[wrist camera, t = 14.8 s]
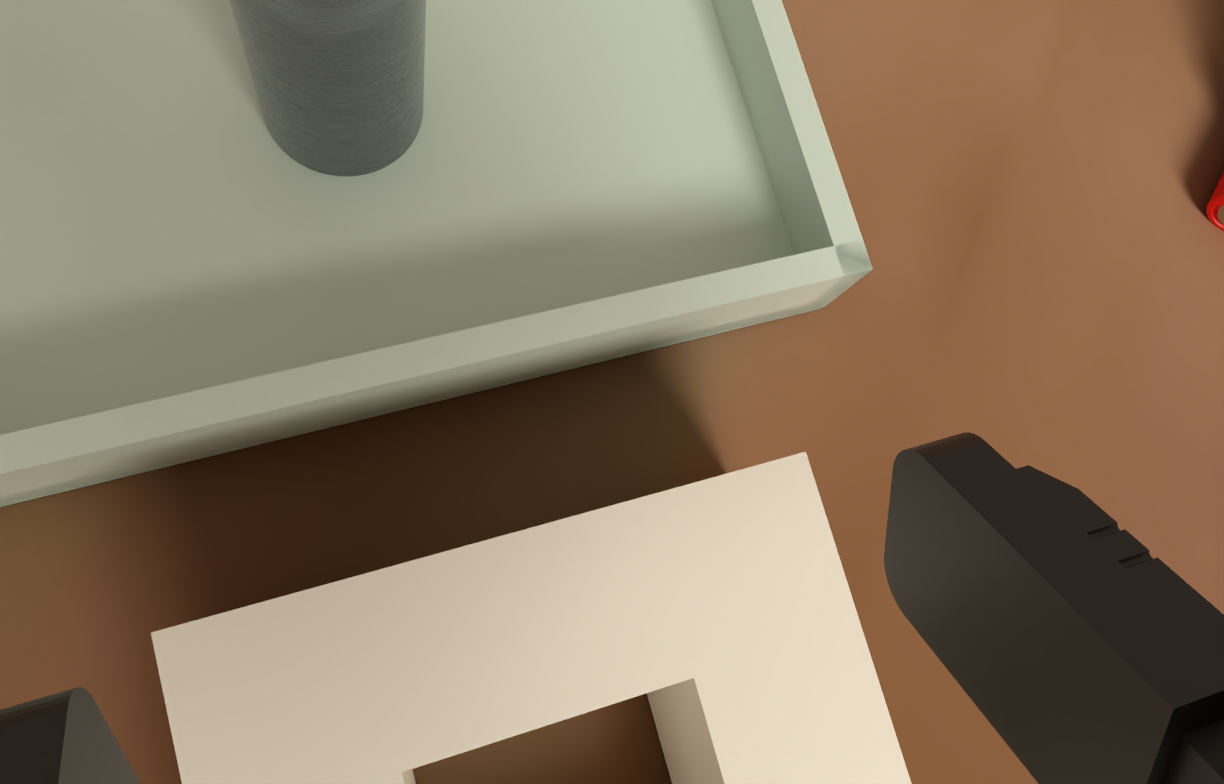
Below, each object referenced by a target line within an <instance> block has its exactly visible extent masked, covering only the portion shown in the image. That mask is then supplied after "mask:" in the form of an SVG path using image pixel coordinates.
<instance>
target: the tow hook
mask: <svg viewBox="0 0 1224 784" xmlns="http://www.w3.org/2000/svg"><path fill="white" fill-rule="evenodd" d="M1206 213H1207V217H1208V218H1209V220H1210V222H1212V223H1213V224H1214V225H1215V226H1216V227H1218V228H1219V229H1221V230H1223V231H1224V172H1223V174H1222V177H1221V179H1220V181H1219V183H1218V185H1217V187H1216V189H1215V191H1214V193H1213V195H1212V197H1211V199H1210V201H1209V203H1208V205H1207V209H1206Z"/></svg>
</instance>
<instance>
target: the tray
mask: <svg viewBox="0 0 1224 784" xmlns="http://www.w3.org/2000/svg"><path fill="white" fill-rule="evenodd" d="M871 270H873V268H872V265H871V262H870V259H869V256H868V253H867V250H866V247H865V244H864V242H863V239H862V236H861V233H860V230H859V227H858V224H857V221H856V218H855V215H854V212H853V209H852V206H851V203H850V200H849V197H848V194H847V191H846V189H845V186H844V183H843V180H842V177H841V174H840V171H839V168H838V165H837V162H836V159H835V156H834V153H833V150H832V147H831V144H830V141H829V138H828V136H827V133H826V130H825V127H824V124H823V121H822V118H821V115H820V112H819V109H818V106H817V103H816V100H815V97H814V94H813V91H812V88H811V85H810V83H809V80H808V77H807V74H806V71H805V68H804V65H803V62H802V59H801V56H800V53H799V50H798V47H797V44H796V41H795V38H794V35H793V32H792V30H791V27H790V24H789V21H788V18H787V15H786V12H785V9H784V6H783V3H782V0H426V20H425V61H424V102H423V118H422V122H421V126H420V129H419V132H418V134H417V136H416V138H415V140H414V141H413V143H412V145H411V146H410V147H409V148H408V150H407V151H406V152H405V153H404V154H403V155H402V156H401V157H400V158H399V159H397V160H396V161H394V162H393V163H392V164H390V165H388V166H386V167H385V168H383V169H380V170H378V171H375V172H373V173H369V174H365V175H359V176H333V175H327V174H323V173H319V172H317V171H314V170H311V169H309V168H307V167H305V166H303V165H301V164H299V163H298V162H296V161H295V160H293V159H292V158H290V157H289V156H288V155H287V154H286V153H285V152H284V151H283V150H282V149H281V148H280V147H279V146H278V145H277V144H276V142H275V141H274V139H273V138H272V136H271V134H270V132H269V130H268V128H267V126H266V123H265V120H264V117H263V114H262V110H261V107H260V103H259V100H258V97H257V93H256V90H255V86H254V83H253V80H252V76H251V73H250V69H249V66H248V62H247V59H246V56H245V52H244V49H243V45H242V42H241V39H240V35H239V32H238V28H237V25H236V22H235V18H234V15H233V11H232V8H231V4H230V1H229V0H0V507H3V506H7V505H11V504H16V503H20V502H24V501H28V500H32V499H36V498H40V497H44V496H49V495H53V494H57V493H61V492H65V491H69V490H73V489H78V488H82V487H86V486H90V485H94V484H98V483H102V482H107V481H111V480H115V479H119V478H123V477H127V476H131V475H136V474H140V473H144V472H148V471H152V470H156V469H160V468H165V467H169V466H173V465H177V464H181V463H185V462H189V461H193V460H198V459H202V458H206V457H210V456H214V455H218V454H222V453H227V452H231V451H235V450H239V449H243V448H247V447H251V446H256V445H260V444H264V443H268V442H272V441H276V440H280V439H285V438H289V437H293V436H297V435H301V434H305V433H309V432H313V431H318V430H322V429H326V428H330V427H334V426H338V425H342V424H347V423H351V422H355V421H359V420H363V419H367V418H371V417H376V416H380V415H384V414H388V413H392V412H396V411H400V410H405V409H409V408H413V407H417V406H421V405H425V404H429V403H434V402H438V401H442V400H446V399H450V398H454V397H458V396H462V395H467V394H471V393H475V392H479V391H483V390H487V389H491V388H496V387H500V386H504V385H508V384H512V383H516V382H520V381H525V380H529V379H533V378H537V377H541V376H545V375H549V374H554V373H558V372H562V371H566V370H570V369H574V368H578V367H583V366H587V365H591V364H595V363H599V362H603V361H607V360H611V359H616V358H620V357H624V356H628V355H632V354H636V353H640V352H645V351H649V350H653V349H657V348H661V347H665V346H669V345H674V344H678V343H682V342H686V341H690V340H694V339H698V338H703V337H707V336H711V335H715V334H719V333H723V332H727V331H731V330H736V329H740V328H744V327H748V326H752V325H756V324H760V323H765V322H769V321H773V320H777V319H781V318H785V317H789V316H794V315H798V314H802V313H806V312H810V311H814V310H818V309H822V308H824V307H825V306H826V305H827V304H829V303H830V302H831V301H833V300H834V299H835V298H836V297H838V296H839V295H840V294H842V293H843V292H844V291H846V290H847V289H848V288H849V287H851V286H852V285H853V284H855V283H856V282H857V281H858V280H860V279H861V278H862V277H864V276H865V275H866V274H867V273H869V272H870V271H871Z"/></svg>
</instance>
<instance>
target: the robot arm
mask: <svg viewBox="0 0 1224 784" xmlns="http://www.w3.org/2000/svg"><path fill="white" fill-rule="evenodd" d="M884 565H885V572H886V576H887V580H888V584H889V587H890V590H891V592H892V594H893V597H894V599H895V601H896V603H897V605H898V606H899V608H900V610H901V611H902V612H903V614H904V615H905V617H906V618H907V619H908V620H909V622H910V623H911V624H912V625H913V627H914V628H915V629H916V630H917V632H918V633H919V634H920V635H921V637H922V638H923V639H924V640H925V642H926V643H927V644H928V645H929V647H930V648H931V649H932V650H933V652H934V653H935V654H936V655H937V657H938V658H939V659H940V661H941V662H942V663H943V664H944V666H945V667H946V668H947V669H948V671H949V672H950V673H951V674H952V676H953V677H954V678H955V679H956V681H957V682H958V683H959V684H960V686H961V687H962V688H963V689H964V691H965V692H966V693H967V694H968V696H969V697H970V698H971V699H972V701H973V702H974V703H975V704H976V706H977V707H978V708H979V709H980V711H981V712H982V713H983V714H984V716H985V717H986V718H987V719H988V721H989V722H990V723H991V724H992V726H993V727H994V728H995V730H996V731H997V732H998V733H999V735H1000V736H1001V737H1002V738H1003V740H1004V741H1005V742H1006V743H1007V745H1008V746H1009V747H1010V748H1011V750H1012V751H1013V752H1014V753H1015V755H1016V756H1017V757H1018V758H1019V760H1020V761H1021V762H1022V763H1023V765H1024V766H1025V767H1026V768H1027V770H1028V771H1029V772H1030V773H1031V775H1032V776H1033V777H1034V778H1035V780H1036V781H1037V782H1038V783H1039V784H1224V615H1223V614H1222V613H1221V612H1220V611H1219V610H1217V609H1216V608H1215V607H1214V606H1213V605H1212V604H1211V603H1209V602H1208V601H1207V600H1206V599H1205V598H1204V597H1202V596H1201V595H1200V594H1199V593H1198V592H1197V591H1195V590H1194V589H1193V588H1192V587H1191V586H1190V585H1189V584H1187V583H1186V582H1185V581H1184V580H1183V579H1182V578H1180V577H1179V576H1178V575H1177V574H1176V573H1175V572H1174V571H1172V570H1171V569H1170V568H1169V567H1168V566H1167V565H1165V564H1164V563H1163V562H1162V561H1161V560H1160V559H1159V558H1155V559H1153V558H1152V557H1151V556H1150V554H1149V550H1148V549H1147V548H1146V547H1145V546H1144V545H1142V544H1141V543H1140V542H1139V541H1138V540H1137V539H1135V538H1134V537H1133V536H1132V535H1131V534H1130V533H1128V532H1127V531H1126V530H1122V531H1121V530H1119V528H1118V526H1117V522H1116V521H1115V520H1113V519H1112V518H1111V517H1110V516H1109V515H1108V514H1107V513H1105V512H1104V511H1103V510H1102V509H1101V508H1100V507H1098V506H1097V505H1096V504H1095V503H1094V502H1093V501H1092V500H1090V499H1089V498H1088V497H1087V496H1086V495H1085V494H1083V493H1082V492H1081V491H1080V490H1079V489H1077V488H1075V487H1073V486H1071V485H1069V484H1066V483H1064V482H1062V481H1060V480H1058V479H1056V478H1054V477H1052V476H1050V475H1048V474H1045V473H1043V472H1041V471H1039V470H1037V469H1035V468H1033V467H1031V466H1029V465H1028V466H1024V467H1021V468H1018V469H1015V468H1014V467H1013V466H1012V465H1011V464H1010V463H1009V462H1007V461H1006V460H1005V459H1004V458H1003V457H1002V456H1001V455H1000V454H999V453H998V452H996V451H995V450H994V449H993V448H992V447H991V446H990V445H989V444H988V443H987V442H985V441H984V440H983V439H982V438H980V437H979V436H977V435H975V434H972V433H961V434H958V435H954V436H951V437H948V438H944V439H941V440H937V441H934V442H930V443H927V444H923V445H920V446H917V447H913V448H910V449H906V450H903V451H901V452H900V453H899V454H898V455H897V457H896V459H895V462H894V466H893V474H892V483H891V493H890V503H889V513H888V522H887V532H886V542H885V552H884ZM0 784H140V782H139V780H138V778H137V776H136V775H135V773H134V771H133V769H132V767H131V766H130V764H129V762H128V760H127V758H126V757H125V755H124V753H123V751H122V749H121V748H120V746H119V744H118V742H117V740H116V739H115V737H114V735H113V733H112V731H111V729H110V728H109V726H108V724H107V722H106V720H105V719H104V717H103V715H102V713H101V711H100V710H99V708H98V706H97V704H96V702H95V701H94V699H93V698H92V696H91V695H90V694H89V692H88V691H87V690H85V689H84V688H81V687H78V688H74V689H71V690H67V691H64V692H61V693H57V694H54V695H50V696H47V697H43V698H40V699H36V700H33V701H30V702H26V703H23V704H19V705H16V706H12V707H9V708H5V709H2V710H0Z"/></svg>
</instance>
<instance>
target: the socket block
mask: <svg viewBox="0 0 1224 784" xmlns="http://www.w3.org/2000/svg"><path fill="white" fill-rule="evenodd" d="M151 636H152V641H153V646H154V651H155V656H156V661H157V665H158V670H159V675H160V680H161V685H162V690H163V695H164V699H165V704H166V709H167V714H168V719H169V724H170V728H171V733H172V738H173V743H174V748H175V753H176V757H177V762H178V767H179V772H180V777H181V782H182V784H416V781H415V777H414V773H413V769H414V768H417V767H420V766H423V765H426V764H429V763H432V762H435V761H438V760H442V759H445V758H448V757H451V756H454V755H457V754H460V753H463V752H466V751H469V750H472V749H476V748H479V747H482V746H485V745H488V744H491V743H494V742H497V741H500V740H503V739H507V738H510V737H513V736H516V735H519V734H522V733H525V732H528V731H531V730H534V729H537V728H541V727H544V726H547V725H550V724H553V723H556V722H559V721H562V720H565V719H568V718H572V717H575V716H578V715H581V714H584V713H587V712H590V711H593V710H596V709H599V708H602V707H606V706H609V705H612V704H615V703H618V702H621V701H624V700H627V699H630V698H633V697H636V696H640V695H643V694H646V693H647V697H648V700H649V704H650V707H651V711H652V714H653V718H654V722H655V725H656V729H657V732H658V736H659V739H660V743H661V746H662V750H663V753H664V757H665V761H666V764H667V768H668V771H669V775H670V778H671V782H672V784H911V781H910V778H909V775H908V771H907V768H906V765H905V762H904V759H903V756H902V753H901V749H900V746H899V743H898V740H897V737H896V734H895V731H894V727H893V724H892V721H891V718H890V715H889V712H888V709H887V705H886V702H885V699H884V696H883V693H882V690H881V687H880V684H879V680H878V677H877V674H876V671H875V668H874V665H873V662H872V658H871V655H870V652H869V649H868V646H867V643H866V640H865V636H864V633H863V630H862V627H861V624H860V621H859V618H858V614H857V611H856V608H855V605H854V602H853V599H852V596H851V593H850V589H849V586H848V583H847V580H846V577H845V574H844V571H843V567H842V564H841V561H840V558H839V555H838V552H837V549H836V545H835V542H834V539H833V536H832V533H831V530H830V527H829V523H828V520H827V517H826V514H825V511H824V508H823V505H822V502H821V498H820V495H819V492H818V489H817V486H816V483H815V480H814V476H813V473H812V470H811V467H810V464H809V461H808V458H807V454H806V452H803V453H799V454H796V455H792V456H789V457H785V458H781V459H778V460H774V461H770V462H767V463H763V464H760V465H756V466H752V467H749V468H745V469H741V470H738V471H734V472H731V473H727V474H723V475H720V476H716V477H712V478H709V479H705V480H702V481H698V482H694V483H691V484H687V485H684V486H680V487H676V488H673V489H669V490H665V491H662V492H658V493H655V494H651V495H647V496H644V497H640V498H636V499H633V500H629V501H626V502H622V503H618V504H615V505H611V506H607V507H604V508H600V509H597V510H593V511H589V512H586V513H582V514H578V515H575V516H571V517H568V518H564V519H560V520H557V521H553V522H550V523H546V524H542V525H539V526H535V527H531V528H528V529H524V530H521V531H517V532H513V533H510V534H506V535H502V536H499V537H495V538H492V539H488V540H484V541H481V542H477V543H473V544H470V545H466V546H463V547H459V548H455V549H452V550H448V551H444V552H441V553H437V554H434V555H430V556H426V557H423V558H419V559H416V560H412V561H408V562H405V563H401V564H397V565H394V566H390V567H387V568H383V569H379V570H376V571H372V572H368V573H365V574H361V575H358V576H354V577H350V578H347V579H343V580H339V581H336V582H332V583H329V584H325V585H321V586H318V587H314V588H311V589H307V590H303V591H300V592H296V593H292V594H289V595H285V596H282V597H278V598H274V599H271V600H267V601H263V602H260V603H256V604H253V605H249V606H245V607H242V608H238V609H234V610H231V611H227V612H224V613H220V614H216V615H213V616H209V617H205V618H202V619H198V620H195V621H191V622H187V623H184V624H180V625H177V626H173V627H169V628H166V629H162V630H158V631H155V632H151Z"/></svg>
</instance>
